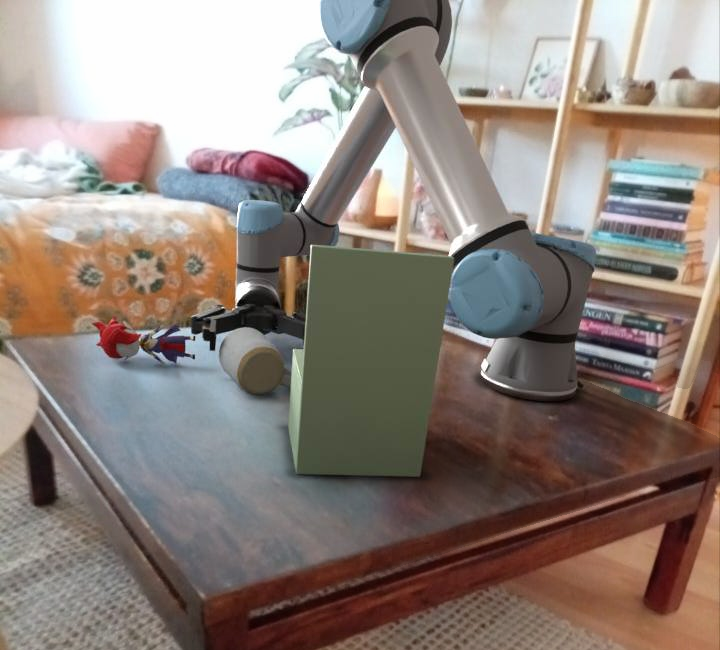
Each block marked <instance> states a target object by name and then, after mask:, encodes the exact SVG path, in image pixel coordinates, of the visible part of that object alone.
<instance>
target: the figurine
mask: <svg viewBox="0 0 720 650" xmlns="http://www.w3.org/2000/svg"><path fill="white" fill-rule="evenodd" d="M91 325H92V326H94V327H95V328H96V329H97V330H98V331H99V342H97V343H96V344H95V346H98V347H100V348H101V349H103V352H104V353H105V355H106V356H107V357H108V358H111V359H116V360H118V359H119V360H120V359H123V361H127V360H128V359H130V358H132V357H135V356H136V355H137V354H138V353H139V350H140V349H141V350H142V351H143V352H145V354H147V355H149V356H152V357H153V359H155V360H156V361H158V362H160V365H162V366H165V365H166V362H165V361H164V360H162V359H161V358H160V357H159V356H158V355H157V354H160V353H161V354H162V355H163V357H164V358H165V360H167V361H169V362H172V363H174V364H175V365H176V364H177V361H178V357H179V358H190V359H192V360H196V353H195V354H194V353H187V352H186V341H193V342H195V341H196V335H187V336H186V335H172V334H175V333H178V332H182V330H181V329H180V328H179V326H178V325H177V324H174V325H173V326H171V327H169V328H168V329H167V330H166V331H165V332H164V333H163V334H161V335H158V336H157V337H155V338H153V336H154V335H156V334H158V333H159V332H160V331H161V330H162V329H164V328H166V325H165V324H164V323H161V324H160V326H159V327H158V328H155V329H154V330H152V331H150V332H149V333H147V334H141V333H137V332H136V330H135V329H134V328H133V327H132V326H131V325H130V324H129V323H128V322H127V321H125V320H123V323H120V322H119V321H118V319H117V318H116V315H114V316H113V317H112V319H111V320H110V321H109V323H108V324H104V323H103V322H101V321H95V322H92V323H91Z"/></svg>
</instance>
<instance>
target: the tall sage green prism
mask: <svg viewBox="0 0 720 650" xmlns="http://www.w3.org/2000/svg"><path fill="white" fill-rule="evenodd" d="M453 263H454V258H453V257H452V256H449V255H443V254H432V253H421V252H420V253H419V252H408V251H395V250H383V249H371V248H370V249H369V248H358V247H347V246H337V245H336V246H323V245H311V250H310V255H309V266H308V280H307V281H308V282H307V295H306V310H305V315H306V323H305V338H304V345H303V349H302V348H293V349H292V363H291V371H292V376H291V388H290V392H289V393H290V395H289V410H288V426H287V428H288V433H289V434H288V435H289V440H290V446H291V451H292V457H293V464H294V469H295V474H296V475H318V476H321V475H323V476H361V477H362V476H366V477H367V476H368V477H406V478H407V477H409V478H410V477H413V478H414V477H415V478H420V477H421V473H422V467H423V462H424V461H423V460H424V454H425V448H426V441H427V435H428V429H429V422H430V416H431V411H432V410H431V409H432V402H433V397H434V390H435V383H436V376H437V371H438V364H439V359H440V352H441V346H442V345H441V344H442V340H443V339H442V338H443V332H444V326H445V320H446V313H447V307H448V301H449V296H450V294H449V289H450V288H451V283H452V282H451V278H452V275H453V274H452V269H453Z"/></svg>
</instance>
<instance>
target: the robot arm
mask: <svg viewBox="0 0 720 650" xmlns="http://www.w3.org/2000/svg"><path fill="white" fill-rule="evenodd" d="M452 15H453V14H452V7H451V3H450V0H320V1H319V24H320V28H321V31H322V34H323V36H324V38H325V40H326V42H327V44H328V45H329V46H331V47H332V48H333V49H335V50H336V51H337V52H338V53H340V54H343V55H348V56H349V58H350V60H351V61H352V63H353V65H354V68H355V70H356V72H357V74H358V76H359V78H360V81H361V83H362V84H363V88H362V90H361V92H360V94H359V96H358V97H357V100H356V101H355V103H354V105H353V106H352V109H351V110H350V112H349V113H348V116H347V117H346V119H345V121H344V123H343V125H342V127H341V129H340V130H339V132H338V133H337V136H336V138H335V139H334V141H333V143H332V145H331V147H330V148H329V151H328V152H327V154H326V156H325V157H324V159H323V161H322V163H321V165H320V167H319V168H318V171H317V173H316V174H315V175H314V177H313V180H312V181H311V183H310V185H309V187H308V188H307V191H306V192H305V194H304V196H303V198H302V200H301V202H300V203H299V204H298V206H297V209H296V210H295V211H294V212H283V208H282V205H281V204H280V203H278V202H275V201H270V200H262V199H261V200H260V199H259V200H257V199H245V200H242V201H241V202H240V203H239V204H238V209H237V217H236V225H235V227H236V266H235V285H234V287H235V288H234V297H235V299H234V301H235V302H234V304H235V306H234V308H232V310H227V309H226V308H227V307H224V305H222V304H215V305H214V307H212V308H210V309H207V310H204V311H202V312H199V313H197V314H195V315H192V316H191V317H190V332H191V334H192V335H193V336H196V335H197V336H198V335H200V334H202V336H201V338H202V339H203V340H202V341H204V342H209V351H210V352H216V346H217V335H220V334H225V333H228V332H229V333H230V332H232V331H234V330H235V329H239V328H244V327H247V328H253V329H256V330H258V331H259V332H261V333H262V334H263V335H264V336H265V335H269V334H270V333H274V334H275V335H276V334H277V335H282V334H285V335H287V336H291V337H294V338H296V339H300V340H302V345H303V346H304V338H305V323H306V313H303V311H302V310H300V309H295V310H293V311H292V312H291V314H287V312H286V311H284V310H282V306H281V301H280V297H279V281H280V265H281V258H288V257H299V256H300V257H301V256H310V250H311V245H323V246H336V247H337V244H338V242H339V239H340V238H339V237H340V233H341V232H340V226H339V222H340V220H341V218H342V216H343V215H344V214H345V212H346V210H347V209H348V207H349V205H350V204H351V202H352V200H353V198H354V197H355V195H356V194H357V192H358V190H359V189H360V187H361V186H362V183H363V182H364V180H365V178H366V177H367V176H368V174H369V172H370V170H371V169H372V167H373V166H374V164H375V162H376V161H377V160H378V157H380V155H381V153H382V151H383V149H384V148H385V146H386V144H387V143H388V141H389V139H391V136H392V135H393V133H394V131H396V130H397V132H398V134H399V137H400V139H401V141H402V143H403V145H404V147H405V151H406V152H407V154H408V156H409V158H410V160H411V162H412V165H413V166H414V169H415V171H416V173H417V175H418V177H419V180H420V181H421V184H422V185H423V188H424V190H425V192H426V194H427V196H428V198H429V200H430V203H431V205H432V207H433V209H434V211H435V214H436V216H437V218H438V220H439V222H440V224H441V226H442V228H443V230H444V232H445V235H446V237H447V239H448V241H449V243H450V250H449V253H448V256H452V257H453V258H454V263H453V269H452V276H451V282H450V288H449V301H450V306H451V308H452V311H453V313H454V314H455V317H456V318H457V319H458V321H459V323H460V324H462V326H463V327H464V328H465V329H467V331H470V332H471V333H473V334H474V335H476V336H478V337H482V338H486V339H491V340H495V342H494V344H493V345H492V348H491V350H490V351H489V353H488V355H487V357H486V358H484V359H483V361H482V363H481V364H480V367H481V371H480V377H479V378H480V381H481V382H482V383H483V384H484V385H485V386H486V387H488V388H490V389H492V390H494V391H496V392H499V393H501V394H504V395H507V396H509V397H510V396H511V397H515V398H518V399H523V400H530V401H538V402H562V401H567V400H570V399H572V398H574V396H575V395H576V393H577V390H578V389H577V388H579V389H580V390H581V389H583V388H584V387H585V386H584V385H585V384H583V383H582V382H581V381H580V380H578V368H577V355H576V342H577V337H578V333H579V330H580V326H581V322H582V317H583V313H584V309H585V306H586V302H587V297H588V294H589V289H590V286H591V281H592V277H593V274H594V272H595V270H596V266H595V264H596V259H597V249H596V247H595V246H594V245H593V244H591V243H588V242H584V241H581V240H580V241H579V240H574V239H570V238H564V237H560V236H554V235H548V234H544V233H543V234H542V233H537V232H531V229H530V228H529V226H528V224H527V221H526V219H524V218H523V217H520V216H516V215H513V214H511V213H510V212H508V209H507V207H506V206H505V203H504V201H503V199H502V197H501V193H500V192H499V190H498V188H497V186H496V184H495V182H494V179H493V178H492V175H491V173H490V171H489V168H488V167H487V164H486V163H485V160H484V158H483V156H482V154H481V151H480V150H479V147H478V145H477V142H476V141H475V139H474V136H473V134H472V132H471V129H470V127H469V126H468V124H467V122H466V120H465V117H464V114H463V113H462V111H461V108H460V107H459V105H458V103H457V99H456V98H455V96H454V94H453V92H452V89H451V87H450V85H449V82H448V80H447V79H446V77H445V75H444V73H443V70H442V68H441V65H442V63H443V60H444V58H445V56H446V53H447V52H448V51H447V50H448V47H449V44H450V40H451V37H452V36H451V35H452V28H453V16H452Z"/></svg>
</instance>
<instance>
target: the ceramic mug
mask: <svg viewBox="0 0 720 650" xmlns="http://www.w3.org/2000/svg"><path fill="white" fill-rule="evenodd" d="M221 341H222V342H221V343H220V346H219V350H218V361H219V364H220V366H221V368H222V370H223V371H224V372H225V374H226V375H228V377H229V378H230V379H231V380H232V381H234V383H235V384H236V385H237V386H238V387H239V388H240V389H242V390H243V391H245V392H247V393H249V394H251V395H266V394H268V393H271V392H272V391H274V390H275V389H276V388H277V387H278V386H279V385H281V386H284V387H287V388H290V389H291V376H292V369H289V368H288V367H286V366H285V361H284V358H283V356H282V354H281V352H280V351H279V349H277V347H275V345H274V344H272V342H271V341H270V340H269V339H268V338H267V337H266V336H265V335H263V334H262V333H261V332H259V331H258V330H256V329H253V328H247V327H244V328H239V329H235V330H233V331H229V333H227V335H226V336H225V337H224V338H223V340H221Z"/></svg>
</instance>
